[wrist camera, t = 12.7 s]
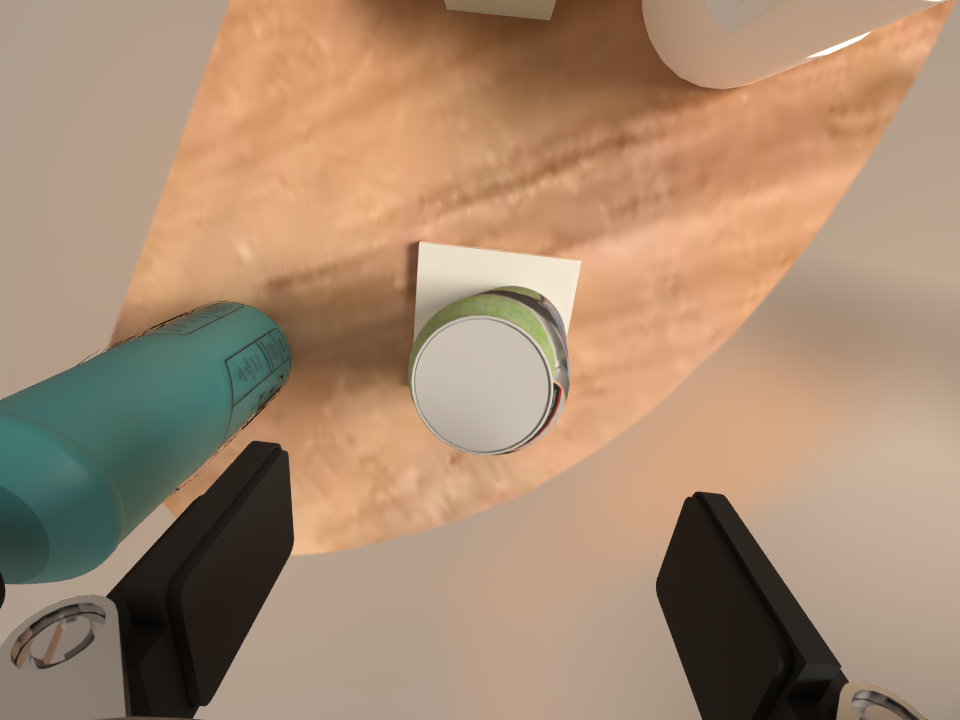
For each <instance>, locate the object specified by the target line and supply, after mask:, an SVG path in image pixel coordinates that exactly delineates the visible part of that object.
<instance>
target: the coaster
mask: <svg viewBox="0 0 960 720" xmlns="http://www.w3.org/2000/svg"><path fill="white" fill-rule="evenodd" d="M580 265H581V260H580V259H576V258H567V257H559V256H550V255H542V254H533V253H525V252H516V251H508V250H499V249H490V248H482V247H473V246H465V245H456V244H448V243H439V242H431V241H420V242H419V256H418V272H417V289H416V306H415V322H414V339H413V344H414V342H415V340H416V338H417V336H418V334H419V332H420V331H421V329H422V328H423V327H424V325H425V324H426V323H427V321H428V320H429V319H431V318H432V317H433V316H434V315H435V314H436V313H437V312H438V311H440V310H441V309H443V308H444V307H446V306H447V305H449V304H451V303H454V302H456V301H458V300H461V299H463V298H467V297H470V296H473V295H476V294H479V293H482V292H485V291H489V290H492V289H495V288H499V287H504V286H520V287H525V288H528V289H531V290H534V291H536V292H538V293H540V294H541V295H543V296H544V297H545V298H547V299H548V300H549V301H550V302H551V303H552V304H553V305H554V306H555V308H556V309H557V311H558V312H559V314H560V316H561V318H562V321H563V323H564V327H565V332H566V339H567V334H568V329H569V324H570V318H571V313H572V308H573V302H574V297H575V292H576V286H577V281H578V276H579V270H580Z"/></svg>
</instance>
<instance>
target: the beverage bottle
mask: <svg viewBox="0 0 960 720" xmlns="http://www.w3.org/2000/svg"><path fill="white" fill-rule="evenodd" d="M218 302H228V301H218ZM211 303H213V302H211ZM209 304H210V303H209ZM204 306H205V305H204ZM202 307H203V306H202ZM196 309H198V308H196ZM196 309H195V310H196ZM191 311H192V310H191ZM191 311H190V312H191ZM193 311H194V309H193ZM193 311H192V312H193ZM192 312H191V313H192ZM188 313H189V312H188ZM191 313H189V314H190V315H187V312H186V313H184V314H186V315H187V316H186V315H185V317H183V318H180V319H178V320H176V321H174V322H171V323H169V324H166V325H164V324H165V323H166V322H168V321H171V320H173V319H175V318H178V317H180V316H181V317H182V316H183V315H184V314H182V315H179V316H177V317H175V318H173V319H170V320H168V321H166V322H163V323H161V324H163V325H162V326H161V327H159V328H156V329H155V330H153V331H151V332H149V333H147V334H143V335H142V336H138V338H135V337H134V336H133V337H134V338H135V339H133V340H131V341H128V342H126V341H127V340H128V339H129V338H128V339H126V341H125V342H126V343H124V344H123V343H122V345H120V344H121V343H120V344H119V343H118V342H117V343H116V344H119V345H120V346H119V345H118V346H117V347H115V346H116V345H115V343H114V345H115V346H114V347H115V348H114V347H113V349H111V350H109V349H108V351H106V352H104V353H102V354H99V355H97V356H95V357H93V358H92V359H90V360H88V361H86V362H84V363H82V364H80V365H79V364H78V365H77V366H75V367H73V368H71V369H69V370H66V371H64V372H62V373H60V374H57V375H55V376H53V377H51V378H49V379H46V380H44V381H42V382H40V383H38V384H35V385H33V386H31V387H28V388H26V389H24V390H22V391H19V392H17V393H15V394H13V395H11V396H9V397H6V398H4V399H2V400H0V608H1V606H2V604H3V602H4V598H5V584H37V583H49V582H57V581H63V580H68V579H72V578H76V577H78V576H81V575H84V574H86V573H88V572H90V571H92V570H94V569H95V568H97V567H98V566H99V565H101V564H102V563H103V562H104V561H105V560H106V559H107V558H108V557H109V556H110V555H111V554H112V553H113V552H114V551H115V549H116V548H117V546H118V544H119V543H120V542H121V541H122V540H123V539H125V538H126V537H127V536H128V535H129V534H130V533H131V532H132V531H133V530H134V529H135V528H136V527H137V526H138V525H139V524H140V523H141V522H142V521H143V520H144V519H145V518H146V517H147V516H148V515H150V513H152V512H153V511H154V510H155V509H156V508H157V507H158V506H159V505H160V504H161V503H162V502H163V501H164V500H165V499H166V498H167V497H168V496H169V495H171V493H172V492H173V491H174V490H177V491H178V490H179V489H177V488H178V487H179V486H180V485H181V484H182V483H183V482H184V481H185V480H186V479H187V478H189V477H190V476H191V475H192V474H193V473H194V472H195V471H196V470H198V469H199V468H200V467H201V466H202V465H203V464H204V463H205V462H206V461H207V460H208V459H209V458H210V457H211V456H212V455H213V454H214V453H215V452H216V451H217V450H219V448H220V447H221V446H222V445H223V444H224V443H226V441H227V440H228V439H229V438H230V437H231V436H232V435H233V434H234V433H235V432H236V431H237V430H238V429H239V428H240V427H241V426H242V425H244V424H245V423H246V422H247V421H248V420H249V419H250V418H251V417H252V416H253V415H254V414H255V413H257V412H258V411H259V410H260V409H261V408H262V409H261V410H260V411H259V412H258V413H257V414H255V416H254V417H253V418H252V419H251V420H250V421H249V422H248V423H247V424H246V425H245V426H244V427H243V428H242V429H244V428H245V427H246V426H247V425H248V424H249V423H250V422H251V421H252V420H253V419H254V418H255V417H256V416H257V415H258V414H259V413H260V412H261V411H262V410H263V409H264V408H265V407H266V406H267V405H268V404H269V403H268V404H267V402H268V401H270V399H271V398H272V397H273V396H274V395H275V394H276V393H277V392H279V390H280V388H281V387H282V386H284V385H283V384H284V383H285V381H286V379H287V377H288V374H289V371H290V370H291V352H290V347H289V344H288V341H287V339H286V337H285V335H284V333H283V332H282V330H281V329H280V327H279V326H278V325H277V324H276V323H275V322H274V321H273V320H272V319H271V318H270V317H269V316H267V315H266V314H265V313H263V312H261V311H260V310H258V309H256V308H253V307H251V306H248V305H243V304H239V303H235V302H233V303H216V304H213V305H211V306H208V307H205V308H201V310H199V311H196V312H194V313H192V314H191ZM161 324H159V325H161ZM159 325H156V326H154V327H152V328H155V327H157V326H159ZM152 328H150V329H152ZM150 329H149V330H150ZM147 331H148V330H147ZM144 332H145V331H144ZM142 333H143V332H142ZM138 334H139V333H138ZM140 334H141V333H140ZM136 335H137V334H136ZM136 335H135V336H136ZM133 337H131V338H130V339H132V338H133ZM123 341H124V340H123ZM120 342H121V341H120ZM112 346H113V345H112ZM112 346H111V347H112ZM105 350H106V349H105ZM289 375H290V374H289ZM288 379H289V377H288ZM287 381H288V380H287ZM284 387H285V386H284ZM281 390H283V389H281ZM281 390H280V391H281ZM279 393H280V392H279ZM279 393H278V394H279ZM275 397H276V396H275ZM275 397H274V398H275ZM274 398H273V399H274ZM273 399H272V400H273ZM266 404H267V405H266ZM264 405H266V406H264ZM263 406H264V407H263ZM242 429H241V430H242ZM238 432H239V431H238ZM238 434H239V433H238ZM236 435H237V434H236ZM236 435H234V436H235V437H236ZM235 437H234V438H235ZM234 438H232V439H234ZM229 441H230V440H229ZM231 441H232V440H231ZM231 441H230V442H231ZM227 442H228V441H227ZM227 444H228V443H227ZM224 446H225V445H224ZM224 446H223V447H224ZM226 446H227V445H226ZM222 450H223V449H222ZM216 453H217V452H216ZM215 455H216V454H215ZM215 455H214V456H215ZM211 460H212V459H211ZM208 464H209V463H208ZM197 475H198V474H197ZM190 481H191V480H190ZM186 484H187V483H186ZM183 486H184V485H183ZM180 488H181V487H180ZM174 493H175V492H174ZM172 494H173V493H172Z"/></svg>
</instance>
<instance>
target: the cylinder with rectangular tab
mask: <svg viewBox="0 0 960 720" xmlns="http://www.w3.org/2000/svg"><path fill="white" fill-rule="evenodd" d="M945 1H947V0H642V13H643V17H644V21H645V25H646V29H647V32H648V36H649V39H650V41H651V43H652V45H653V46H654V48H655V50H656V52H657V53H658V55H659V57H660V59H661V60H662V61H663V62H664V63H665V64H666V65H667V66H668V67H669V68H670V69H671V70H672V71H673V72H674V73H675V74H676V75H677V76H679V77H680V78H682V79H685V80H687V81H689V82H691V83H693V84H695V85H697V86H699V87H706V88H714V89H722V90H723V89H729V88H735V87H741V86H747V85H750V84H753V83H755V82H758V81H760V80H763V79H765V78H768V77H771V76H773V75H776V74H778V73H781V72H783V71H786V70H789V69H791V68H794V67H796V66H799V65H801V64H804V63H807V62H809V61H812V60H814V59H817V58H819V57H822V56H825V55H827V54H829V53H832V52H834V51H836V50H838V49H840V48H843V47H845V46H847V45H849V44H852V43H854V42H856V41H858V40H860V39H862V38H863V37H865V36H866V35H867V34H869V33H870V32H871V31H873V30H876V29H878V28H881V27H883V26H886V25H888V24H891V23H893V22H895V21H898V20H900V19H903V18H905V17H908V16H910V15H913V14H915V13H918V12H920V11H923V10H925V9H928V8H930V7H933V6H935V5H937V4H940V3H942V2H945Z"/></svg>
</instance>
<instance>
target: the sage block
mask: <svg viewBox="0 0 960 720" xmlns="http://www.w3.org/2000/svg"><path fill="white" fill-rule="evenodd" d="M444 2H445V5H446V8H447V10H455V11H464V12H473V13H483V14H492V15H502V16H511V17H521V18H530V19H539V20H549V21H550V19H551V15H552V12H553V9H554V6H555V3H556V0H444Z"/></svg>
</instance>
